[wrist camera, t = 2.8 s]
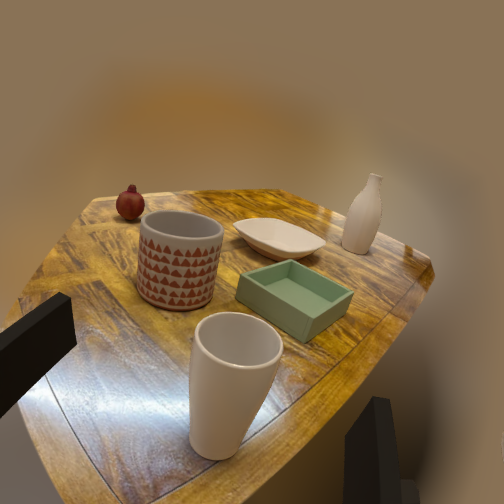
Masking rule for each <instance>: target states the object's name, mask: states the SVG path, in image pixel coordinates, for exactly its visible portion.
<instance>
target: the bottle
mask: <svg viewBox="0 0 504 504" xmlns="http://www.w3.org/2000/svg"><path fill="white" fill-rule="evenodd" d="M382 179H383V177H381V176H379V175H376V174H372V173H369V178H368V181H367V185H366V187H365V188H364V190H362V191H361V192H360V193H359V194H358V195H357V197H356V198H355V200H354V201H353V203H352V204H351V206H350V209H349V211H348V214H347V218H346V222H345V226H344V230H343V237H342V247H343V248H344V249H346V250H348V251H350V252H352V253H355V254H360V255H364V254H366V253H367V252H368V250H369V248H370V246H371V244H372V242H373V240H374V238H375V235H376V233H377V230H378V228H379V225H380V221H381V215H382V203H381V198H380V194H379V190H380V185H381V181H382Z"/></svg>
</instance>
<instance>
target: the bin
mask: <svg viewBox="0 0 504 504" xmlns="http://www.w3.org/2000/svg"><path fill="white" fill-rule="evenodd" d="M353 294H354V291H352V290H350V289H348V288H346V287H344V286H342V285H340V284H338V283H337V282H335V281H333V280H331V279H329V278H327V277H325V276H323V275H321V274H319V273H317V272H315V271H313V270H312V269H310V268H308V267H306V266H304V265H302V264H300V263H298V262H296V261H294V260H292V259H289V260H286V261H282V262H279V263H276V264H272V265H269V266H266V267H263V268H259V269H256V270H253V271H249V272H246V273H243V274H240V278H239V283H238V287H237V292H236V296H235V298H236V299H237V300H238V301H240V302H241V303H243V304H244V305H246V306H247V307H249V308H250V309H252V310H253V311H255V312H256V313H258V314H259V315H261V316H262V317H264V318H265V319H267V320H268V321H270V322H271V323H273V324H274V325H276V326H277V327H279V328H280V329H282V330H284V331H285V332H287V333H288V334H290V335H291V336H293V337H294V338H296V339H297V340H299V341H301V342H302V343H304V344H305V343H306V342H308V341H309V340H311V339H312V338H313V337H315V336H316V335H318V334H319V333H320V332H322V331H323V330H324V329H326V328H327V327H328V326H330V325H331V324H332V323H334V322H335V321H336V320H338V319H339V318H340V317H342V316H343V315H344V314H346V312H347V309H348V307H349V304H350V302H351V299H352V297H353Z"/></svg>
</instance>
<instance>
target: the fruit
mask: <svg viewBox="0 0 504 504" xmlns="http://www.w3.org/2000/svg"><path fill="white" fill-rule="evenodd" d="M144 207H145V203H144V199H143V197H142V196H141V195H140V194H139V193H137V192H136V186H135V185H130V186H129V187H128V190H127V191H125V192H122V193H121V194H120V195H119V197H118V199H117V201H116V209H117V211H118V213H119V214H120V215H121V216H122V217H124V218H125V219H128V220H132V219H135V218H137V217H139V216H140V215H141V214H142V212H143V211H144Z"/></svg>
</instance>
